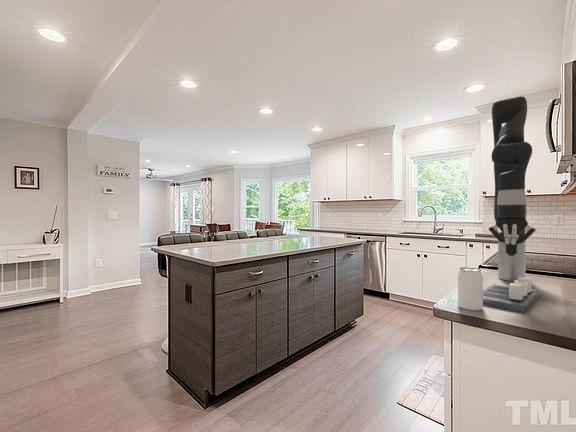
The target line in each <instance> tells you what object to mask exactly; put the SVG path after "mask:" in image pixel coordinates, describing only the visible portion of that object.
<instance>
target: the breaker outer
mask: <svg viewBox="0 0 576 432" xmlns="http://www.w3.org/2000/svg"><path fill="white" fill-rule="evenodd" d="M508 286H509V298H510V299H516V300H522V299H523V285H520V284H514V282H513V283H512V282H511V283H509V284H508Z"/></svg>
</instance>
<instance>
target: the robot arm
mask: <svg viewBox="0 0 576 432" xmlns="http://www.w3.org/2000/svg"><path fill="white" fill-rule="evenodd" d="M527 114H528V101H527V98H526V97H525V96H522V95H521V96H514V97H510V98H504V99H500V100H495V101H494V102H493V104H492V106H491V121H492V132H493V149H492V152H491V161H492V163H493V175H494V203H493V216H494V221H495V224H494V225H492V226H490V227H488V230H489V232H490V233H491V234H492V235H493V236H494V237H495V238H496V240H497V241H498V242H497V243H498V244H497V245H498V246H497V252H498V253H497V255H498V259H497V260H498V262H497V264H498V267H497V269H498V270H497V271H498V273H497V277H498V279H501V280H505V281H510V282H514V281H515V280H518V278H520V277H522V278H526V240H527V239H529V238H530V237H531V236H532V235H533V234H534V233H535V232H536V231H537V229H536V228H535V227H532V226H530V225H529V222H528V221H527V194H526V173H527V168H528V166H529V163H530V160H531V157H532V155H533V147H532V145H531V143H529V142H527V141H525V134H524V133H525V131H524V130H525V129H524V128H525V125H526V120H527ZM503 124H504V125H503ZM499 230H500V231H499Z"/></svg>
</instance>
